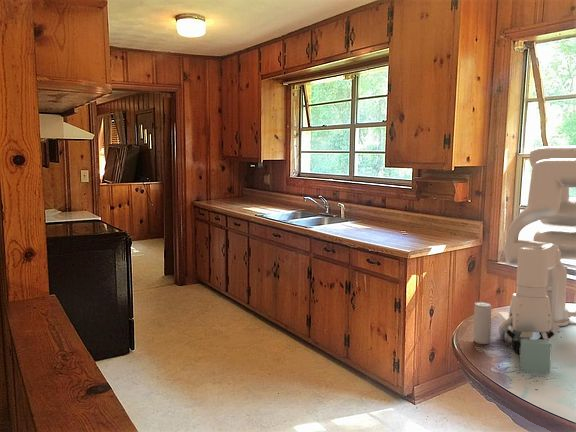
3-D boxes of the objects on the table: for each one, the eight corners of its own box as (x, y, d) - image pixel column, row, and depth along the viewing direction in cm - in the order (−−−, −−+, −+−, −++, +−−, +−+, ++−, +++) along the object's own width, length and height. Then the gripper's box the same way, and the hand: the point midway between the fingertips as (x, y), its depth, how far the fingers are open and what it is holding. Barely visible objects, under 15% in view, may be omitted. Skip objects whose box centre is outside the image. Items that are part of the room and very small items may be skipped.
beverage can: (491, 345, 146) (492, 306, 145) (474, 344, 147) (475, 306, 146) (488, 339, 151) (489, 301, 149) (472, 338, 152) (473, 301, 150)
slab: (518, 323, 153) (518, 312, 152) (532, 337, 141) (532, 325, 141) (498, 322, 154) (498, 312, 153) (510, 336, 142) (511, 325, 141)
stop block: (545, 368, 130) (546, 339, 129) (549, 373, 127) (550, 343, 126) (519, 367, 131) (521, 339, 130) (523, 372, 128) (525, 343, 127)
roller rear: (518, 336, 152) (519, 324, 152) (523, 341, 148) (523, 329, 148) (498, 336, 153) (499, 324, 153) (502, 341, 149) (503, 328, 149)
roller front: (525, 343, 147) (525, 330, 146) (529, 348, 143) (530, 335, 142) (504, 342, 148) (504, 330, 147) (508, 348, 144) (509, 335, 143)
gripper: (558, 287, 136) (555, 349, 138) (494, 286, 138) (492, 347, 140) (570, 295, 129) (567, 360, 131) (502, 294, 131) (500, 357, 133)
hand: (528, 352), depth 136 cm, fingers closed on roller, 6 cm apart
